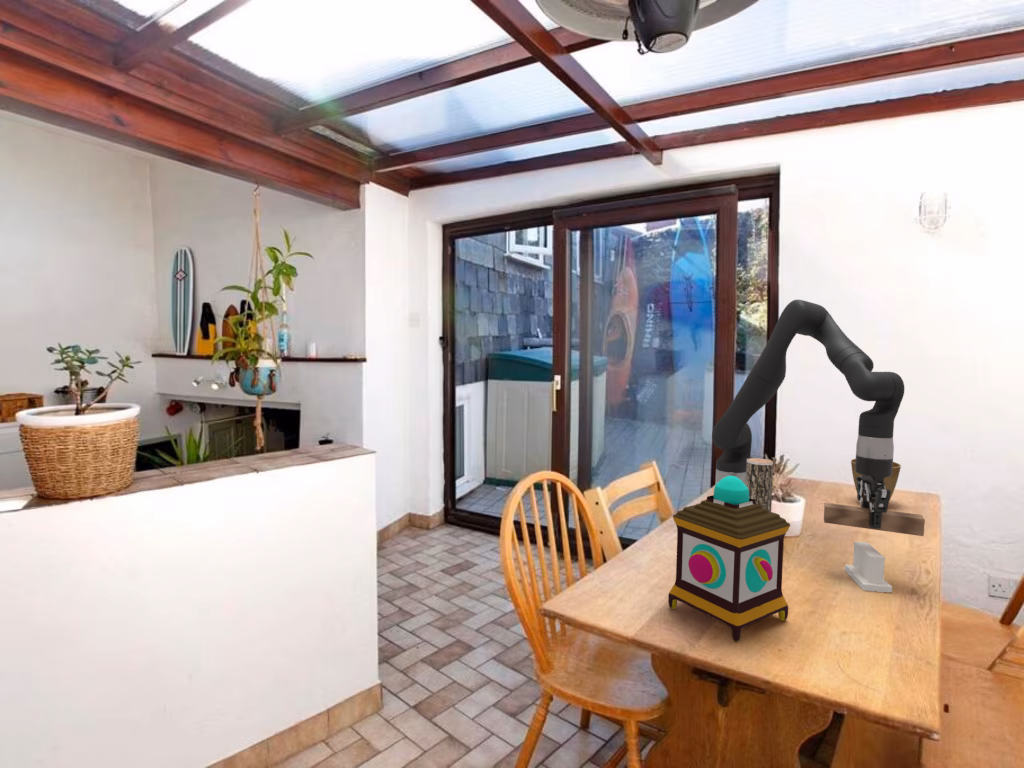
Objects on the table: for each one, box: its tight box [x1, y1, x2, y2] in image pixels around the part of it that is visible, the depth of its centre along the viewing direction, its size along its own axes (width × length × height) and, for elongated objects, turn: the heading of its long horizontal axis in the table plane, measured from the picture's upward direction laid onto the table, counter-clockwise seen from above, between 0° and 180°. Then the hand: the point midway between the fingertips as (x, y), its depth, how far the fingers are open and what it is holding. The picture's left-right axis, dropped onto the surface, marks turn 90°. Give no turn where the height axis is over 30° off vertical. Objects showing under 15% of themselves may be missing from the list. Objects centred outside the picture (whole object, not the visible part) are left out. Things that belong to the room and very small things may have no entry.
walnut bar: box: [823, 502, 926, 537], centre depth 134 cm, size 20×4×4 cm, turn 62°
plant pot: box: [850, 458, 902, 507], centre depth 197 cm, size 15×15×16 cm
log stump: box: [746, 457, 774, 512], centre depth 156 cm, size 7×7×25 cm
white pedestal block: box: [844, 541, 893, 593], centre depth 135 cm, size 6×12×8 cm, turn 167°
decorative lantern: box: [667, 476, 791, 643], centre depth 117 cm, size 20×20×30 cm
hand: (870, 523), depth 134 cm, fingers closed on walnut bar, 4 cm apart
